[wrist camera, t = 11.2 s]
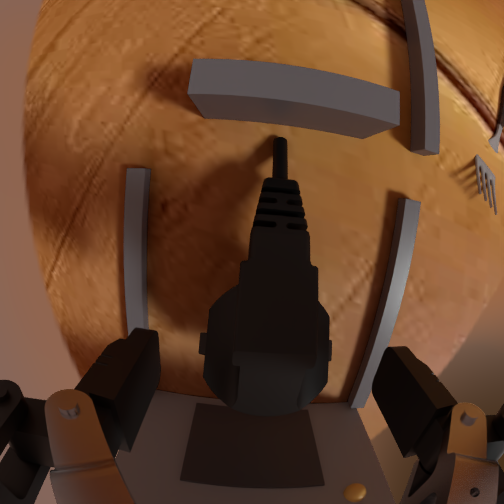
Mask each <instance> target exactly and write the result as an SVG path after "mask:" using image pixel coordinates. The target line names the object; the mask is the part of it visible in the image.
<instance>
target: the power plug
mask: <svg viewBox="0 0 504 504" xmlns="http://www.w3.org/2000/svg"><path fill="white" fill-rule="evenodd" d="M299 194H300V190H299V185H298V183H297V181H295V180H289V179H288V161H287V140H286V139H285V138H283V137H278V138H275V139H274V144H273V173H272V178H266V179H265V180H264V182H263V185H262V190H261V194H260V197H259V203H258V205H257V209H256V215H255V217H254V221H253V227H252V229H251V233H250V243H249V254H248V260H247V261H241V263H240V273H239V284H238V285H236V286H235V287H233V288H231V289H230V290H229V291H227V292H226V293H225V294H223V295H222V296H221V297H220V298H219V299H218V300H217V301H216V302H215V303H214V304H213V305H212V306H211V308H210V309H209V319H208V329H207V333H200V343H199V354H202V355H205V361H204V372H203V377H204V379H205V381H206V383H207V385H208V386H209V387H210V389H211V390H212V391H213V393H214V394H215V395H216V396H217V397H218V398H219V399H220V400H221V401H222V402H223V403H225V404H226V405H227V406H228V407H230V408H232V409H234V410H236V411H239V412H242V413H245V414H249V415H254V416H265V417H269V416H281V415H286V414H290V413H293V412H296V411H299V410H301V409H302V408H304V407H305V406H306V405H308V404H309V403H310V402H311V401H312V400H313V399H314V398H315V397H316V396H317V395H318V394H319V393H320V392H321V391H322V390H323V388H324V387H325V385H326V384H327V382H328V361H331V355H332V341H331V340H329V320H330V317H329V315H328V313H327V312H326V310H325V309H324V307H323V306H322V305H321V304H320V302H319V301H318V268H317V267H316V266H312V265H311V262H310V236H309V232H308V231H306V229H307V227H308V226H307V221H306V219H304V216H305V212H304V208H303V207H302V198H301V196H300V195H299Z"/></svg>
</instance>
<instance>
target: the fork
mask: <svg viewBox="0 0 504 504" xmlns="http://www.w3.org/2000/svg"><path fill="white" fill-rule="evenodd" d="M503 127H504V86H503V90H502V96H501V103H500V111H499V118H498V125H497V130H496V133H495V135H494V136H493V137H492V138H490V139H489V143H490V145H491V147H492V148H493V149H494V151H495V152H496V153H498V145H499V138H500V135H501V132H502V129H503ZM475 165H476V175H477V183H478V191H479V194H481V186H480V174H479V166H480V168H481V176H482V185H483V193H484V199H485V201H487V196H486V186H485V174H486V179H487V189H488V197H489V204H490V208H492V201H491V190H490V180H491V185H492V195H493V204H494V211H495V215H497V208H496V198H495V176H494V174H493V173H492V172H491V170H490V169H489V168H488V166H487V165H486V164H485V163H484V161H483V160H482V159H481V158H480V157H479V155H476V156H475Z"/></svg>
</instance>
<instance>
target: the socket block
mask: <svg viewBox="0 0 504 504" xmlns="http://www.w3.org/2000/svg"><path fill="white" fill-rule="evenodd" d="M150 174H151V169H146V168H127V175H126V188H125V207H124V282H125V301H126V314H127V326H128V336H129V335H130V333H131V332H132V331H133V329H134V328H135V327H138V328H143V329H149V327H148V307H147V221H148V201H149V186H150ZM420 204H421V202H419V201H414V200H410V199H404V198H399V200H398V208H397V215H396V222H395V229H394V235H393V241H392V246H391V252H390V257H389V262H388V267H387V272H386V276H385V281H384V285H383V289H382V294H381V298H380V302H379V306H378V309H377V313H376V317H375V321H374V324H373V328H372V331H371V334H370V338H369V341H368V344H367V348H366V351H365V354H364V357H363V360H362V363H361V366H360V369H359V372H358V374H357V377H356V380H355V383H354V385H353V388H352V391H351V393H350V396H349V399H348V402H342V403H315V404H308V405H306V406H305V407H304V408H302V409H301V410H299V411H296V412H293V413H290V414H286V415H281V416H269V417H265V416H254V415H249V414H245V413H242V412H239V411H236V410H234V409H232V408H230V407H228V406H227V405H226V404H225V403H223V402H222V401H221V400H220V399H213V398H205V397H197V396H190V395H184V394H178V393H172V392H166V391H161V390H156V391H155V393H154V395H153V398H152V400H151V402H150V405H149V407H148V410H147V412H146V415H145V417H144V419H143V422H142V424H141V427H140V429H139V432H138V434H137V437H136V439H135V442H134V444H133V447H132V449H131V452H130V453H129V452H126V451H122V450H119V451H118V454H117V456H116V458H115V461H116V463H117V465H118V468H119V470H120V472H121V474H122V476H123V478H124V480H125V482H126V484H127V486H128V488H129V490H130V492H131V494H132V496H133V498H134V500H135V502H136V504H395V501H394V499H393V496H392V493H391V491H390V488H389V486H388V483H387V481H386V478H385V476H384V473H383V471H382V468H381V466H380V463H379V461H378V458H377V456H376V454H375V451H374V449H373V446H372V444H371V441H370V439H369V437H368V434H367V432H366V430H365V427H364V425H363V422H362V420H361V418H360V415H359V413H358V411H357V409H356V408H364V406H365V403H366V401H367V399H368V397H369V394H370V392H371V389H372V382H373V379H374V376H375V374H376V371H377V369H378V366H379V363H380V361H381V358H382V355H383V353H384V351H385V349H386V348H387V347H388V344H389V341H390V338H391V335H392V332H393V329H394V325H395V322H396V319H397V315H398V312H399V308H400V305H401V301H402V297H403V293H404V289H405V285H406V281H407V277H408V273H409V268H410V263H411V259H412V254H413V249H414V243H415V238H416V232H417V225H418V219H419V212H420Z"/></svg>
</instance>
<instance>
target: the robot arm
mask: <svg viewBox="0 0 504 504" xmlns="http://www.w3.org/2000/svg"><path fill="white" fill-rule="evenodd" d="M160 373H161V365H160V352H159V337H158V332H157V331H155V330H149V329H143V328H138V327H135V328H134V329H133V331H132V332H131V333H130V335H129V336H128V337H127V339H126V340H125V339H118V340H116V341H114V342H113V343H111V344H109V345H108V346H107V347H106V349H105V350H104V351H103V352H102V354H101V356H99V357H98V359H97V360H96V363H94V364H93V365H92V366H91V368H90V369H89V370H88V372H87V373H86V374H85V375H84V377H83V378H82V379H81V381H80V382H79V383H78V385H77V386H76V387H75V389H66V390H61V391H58V392H56V393H54V394H52V395H51V396H50V397H49V398H48V399H47V400H39V399H33V398H26V397H24V396H23V394H22V392H21V390H20V387H19V386H18V385H17V384H16V383H14V382H12V381H10V380H0V455H1V454H2V452H3V450H4V449H5V447H6V445H7V444H9V445H10V447H9V449H8V450H7V452H6V454H5V456H4V457H3V459H2V460H1V462H0V504H34V503H35V500H36V498H37V495H38V494H39V491H40V489H41V487H42V485H43V482H44V480H45V478H46V476H47V474H48V472H49V469H50V467H55V469H54V470H51V471H50V480H51V485H52V488H53V492H54V495H55V499H56V502H57V504H136V502H135V500H134V498H133V496H132V494H131V492H130V490H129V488H128V486H127V484H126V482H125V480H124V478H123V476H122V474H121V472H120V470H119V468H118V465H117V463H116V461H115V457H116V454H117V452H118V450H122V451H126V452H129V453H130V452H131V449H132V447H133V444H134V442H135V439H136V437H137V434H138V432H139V429H140V427H141V424H142V422H143V419H144V417H145V415H146V412H147V410H148V407H149V405H150V402H151V400H152V398H153V395H154V393H155V391H156V388H157V386H158V383H159V380H160ZM433 374H434V373H433V372H432V371H431V369H430V368H429V367H428V366H427V365H426V364H424V363H423V362H422V361H420V360H419V359H417V358H416V357H415V355H414V354H413V353H412V352H411V351H410V349H409V348H408V347H406V346H398V347H387V348H386V349H385V351H384V353H383V355H382V358H381V361H380V363H379V366H378V369H377V371H376V374H375V376H374V379H373V382H372V394H373V397H374V399H375V400H376V402H377V404H378V406H379V408H380V410H381V412H382V414H383V416H384V418H385V420H386V422H387V424H388V426H389V428H390V430H391V432H392V434H393V436H394V438H395V440H396V443H397V445H398V447H399V449H400V451H401V453H402V455H403V457H404V458H406V457H410V456H413V455H417V456H418V459H417V460H416V462H415V463H414V465H413V469H412V472H411V475H410V478H409V481H408V483H407V486H406V489H405V491H404V494H403V497H402V499H401V502H400V504H504V472H503V470H502V469H501V467H500V465H499V464H498V462H497V461H498V459H499V458H500V457H501V456H502V455H503V454H504V404H503V405H502V407H501V408H500V410H499V411H498V413H497V414H496V415H485V414H484V413H483V411H482V410H481V409H480V408H478V407H477V406H475V405H473V404H470V403H459V404H458V403H457V401H456V400H455V399H454V398H453V397H452V395H451V394H450V393H449V391H448V390H447V389H446V388H445V386H444V385H443V384H442V383H441V382H439V379H438V378H437V377H436V375H433Z"/></svg>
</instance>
